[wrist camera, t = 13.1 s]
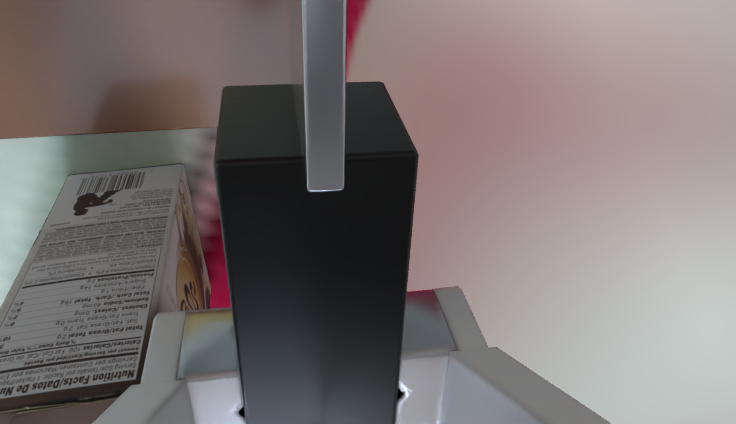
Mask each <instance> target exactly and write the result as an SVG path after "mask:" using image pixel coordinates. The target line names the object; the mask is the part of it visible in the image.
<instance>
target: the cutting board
mask: <svg viewBox="0 0 736 424" xmlns="http://www.w3.org/2000/svg"><path fill="white" fill-rule="evenodd" d="M276 84H291V70H290V45H289V21H288V0H0V139H10V138H28V137H46V136H64V135H82V134H100V133H118V132H136V131H154V130H172V129H190V128H208V127H218V121H219V113H220V104H221V95H222V90H223V87H225V86H240V85H276Z"/></svg>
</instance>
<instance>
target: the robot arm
mask: <svg viewBox="0 0 736 424" xmlns="http://www.w3.org/2000/svg"><path fill="white" fill-rule="evenodd" d="M92 424H246V422H245V414H244V406H243V398H242V390H241V382H240V374H239V366H238V358H237V350H236V342H235V334H234V326H233V318H232V310H231V307H228V308H213V309H198V310H188V311H176V312H161V313H157V315H156V316H155V318H154V320H153V325H152V330H151V335H150V340H149V344H148V349H147V354H146V359H145V364H144V369H143V373H142V378H141V383H140V384H138V385H131V386H130V387H129V388H128V389H127V390H126V391H125V392H124V393H123V394H122V395H121V396H120V397H119V398H118V399H117V400H116V401H115V402H114V403H113V404H112V405H111V406H109V407H108V408H107V409H106V410H105V411H104V412H103V413H102V414H101V415H100V416H99V417H98V418H97V419H96V420H95V421H94V422H93V423H92ZM395 424H610V423H609V422H608V421H607V420H605V419H604V418H602V417H601V416H599V415H598V414H596V413H595V412H593V411H592V410H590V409H589V408H587V407H586V406H584V405H583V404H581V403H580V402H578V401H577V400H575V399H574V398H572V397H571V396H569V395H568V394H566V393H565V392H563V391H561V390H560V389H559V388H557V387H556V386H554V385H553V384H551V383H549V382H548V381H547V380H545V379H544V378H542V377H541V376H539V375H537V374H536V373H535V372H533V371H531V370H530V369H529V368H527V367H526V366H524V365H523V364H521V363H520V362H518V361H517V360H515V359H514V358H512V357H510V356H509V355H507V354H506V353H504V352H503V351H502V350H500V349H499V348H497V347H492V348H488V346H487V343H486V341H485V339H484V337H483V335H482V333H481V331H480V328H479V326H478V324H477V322H476V320H475V317H474V316H473V313H472V311H471V309H470V307H469V305H468V303H467V300H466V298H465V296H464V294H463V292H462V290H461V289H460V288H459V287H458V286H455V287H446V288H436V289H432V290H422V291H412V292H407V293H406V304H405V316H404V327H403V339H402V350H401V361H400V373H399V384H398V396H397V407H396V418H395Z"/></svg>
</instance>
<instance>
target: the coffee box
mask: <svg viewBox="0 0 736 424" xmlns="http://www.w3.org/2000/svg"><path fill="white" fill-rule="evenodd" d="M210 293H211V287H210V282H209V277H208V272H207V268H206V263H205V259H204V254H203V250H202V246H201V241H200V237H199V232H198V227H197V223H196V218H195V213H194V209H193V204H192V200H191V195H190V191H189V186H188V182H187V177H186V173H185V169H184V166H183V165H181V164H178V165H168V166H158V167H148V168H138V169H128V170H118V171H108V172H100V173H89V174H80V175H71V176H68V177H67V179H66V181H65V183H64V185H63V187H62V189H61V191H60V193H59V195H58V197H57V199H56V201H55V203H54V205H53V207H52V209H51V211H50V213H49V215H48V217H47V219H46V220H45V223H44V225H43V227H42V229H41V230H40V232H39V235H38V237H37V238H36V240H35V242H34V244H33V246H32V248H31V250H30V251H29V254H28V256H27V258H26V260H25V261H24V263H23V265H22V267H21V269H20V271H19V273H18V275H17V277H16V279H15V281H14V283H13V285H12V287H11V289H10V291H9V292H8V294H7V296H6V298H5V300H4V302H3V304H2V306H1V308H0V424H92V423H93V422H94V421H95V420H96V419H97V418H98V417H99V416H100V415H101V414H102V413H103V412H104V411H105V410H106V409H107V408H108V407H109V406H111V405H112V404H113V403H114V402H115V401H116V400H117V399H118V398H119V397H120V396H121V395H122V394H123V393H124V392H125V391H126V390H127V389H128V388H129V387H130V386H131V385H138V384H140V383H141V378H142V373H143V369H144V364H145V359H146V354H147V349H148V344H149V340H150V335H151V330H152V325H153V320H154V318H155V316H156V315H157V313H161V312H176V311H188V310H198V309H210Z"/></svg>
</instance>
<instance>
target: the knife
mask: <svg viewBox="0 0 736 424" xmlns="http://www.w3.org/2000/svg"><path fill="white" fill-rule="evenodd" d="M288 21H289V45H290V70H291V84H276V85H240V86H225V87H223V90H222V95H221V104H220V113H219V121H218V130H217V139H216V147H215V156H214V165H213V166H214V174H215V182H216V190H217V198H218V206H219V214H220V222H221V230H222V238H223V246H224V254H225V262H226V270H227V278H228V286H229V294H230V302H231V310H232V318H233V326H234V334H235V342H236V350H237V358H238V366H239V374H240V382H241V390H242V398H243V406H244V414H245V422H246V424H395V418H396V407H397V396H398V384H399V373H400V361H401V350H402V339H403V327H404V316H405V304H406V293H407V282H408V270H409V259H410V247H411V236H412V224H413V213H414V202H415V191H416V179H417V167H418V153H417V150H416V148H415V146H414V144H413V142H412V140H411V138H410V136H409V135H408V132H407V130H406V128H405V126H404V124H403V122H402V120H401V118H400V116H399V114H398V112H397V110H396V108H395V106H394V104H393V102H392V100H391V98H390V96H389V94H388V92H387V90H386V87H385V85H384V83H382V82H347V83H346V39H347V0H288Z"/></svg>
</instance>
